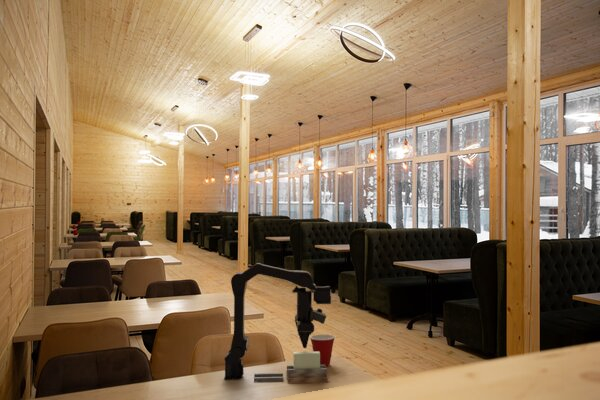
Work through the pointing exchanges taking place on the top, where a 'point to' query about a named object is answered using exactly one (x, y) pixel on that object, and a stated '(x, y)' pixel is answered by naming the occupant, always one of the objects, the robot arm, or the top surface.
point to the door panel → (306, 360)
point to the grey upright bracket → (268, 377)
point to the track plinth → (306, 374)
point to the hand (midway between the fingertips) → (303, 344)
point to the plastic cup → (323, 347)
